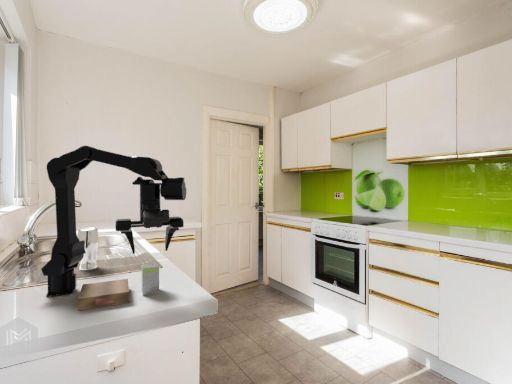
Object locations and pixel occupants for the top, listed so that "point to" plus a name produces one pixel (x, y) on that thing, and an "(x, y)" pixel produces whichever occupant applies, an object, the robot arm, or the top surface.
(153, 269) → the metal column
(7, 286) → the top surface
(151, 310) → the top surface
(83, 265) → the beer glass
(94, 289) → the walnut riser
